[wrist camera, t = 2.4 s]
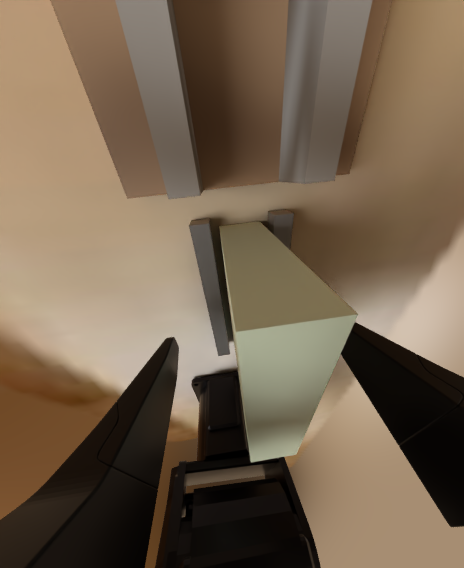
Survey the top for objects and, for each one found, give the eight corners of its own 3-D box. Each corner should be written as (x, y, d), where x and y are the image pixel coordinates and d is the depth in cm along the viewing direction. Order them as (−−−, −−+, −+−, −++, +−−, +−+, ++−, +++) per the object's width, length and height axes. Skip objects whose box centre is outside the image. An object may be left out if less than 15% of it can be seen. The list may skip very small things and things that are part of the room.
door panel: (259, 333, 15) (296, 454, 9) (233, 337, 15) (250, 462, 9) (259, 221, 10) (358, 314, 3) (219, 226, 10) (236, 332, 3)
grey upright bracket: (275, 335, 16) (279, 346, 15) (218, 344, 15) (218, 355, 14) (285, 209, 10) (293, 213, 9) (191, 220, 9) (189, 225, 8)
